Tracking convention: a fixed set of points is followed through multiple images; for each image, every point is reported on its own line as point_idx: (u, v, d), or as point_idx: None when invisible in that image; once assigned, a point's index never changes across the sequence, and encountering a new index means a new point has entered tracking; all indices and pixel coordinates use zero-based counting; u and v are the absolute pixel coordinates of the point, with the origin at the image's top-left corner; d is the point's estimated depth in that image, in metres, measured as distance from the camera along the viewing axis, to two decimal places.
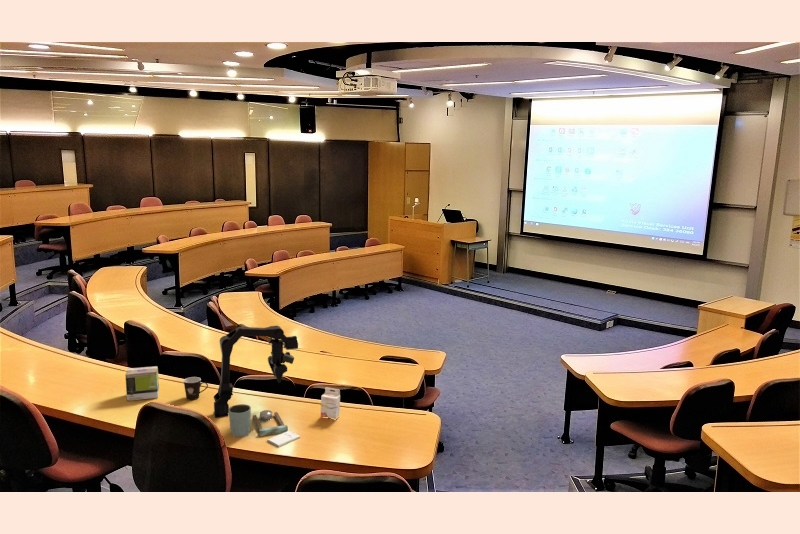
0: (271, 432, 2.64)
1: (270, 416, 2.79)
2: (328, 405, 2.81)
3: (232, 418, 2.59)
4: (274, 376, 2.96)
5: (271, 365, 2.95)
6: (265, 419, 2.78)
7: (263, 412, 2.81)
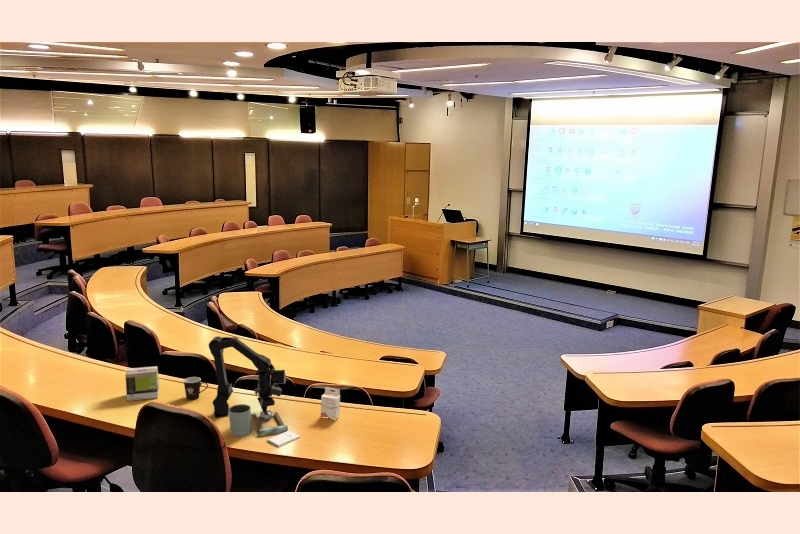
0: (271, 432, 2.64)
1: (270, 416, 2.79)
2: (328, 405, 2.81)
3: (232, 418, 2.59)
4: None
5: None
6: (265, 419, 2.78)
7: (263, 412, 2.80)
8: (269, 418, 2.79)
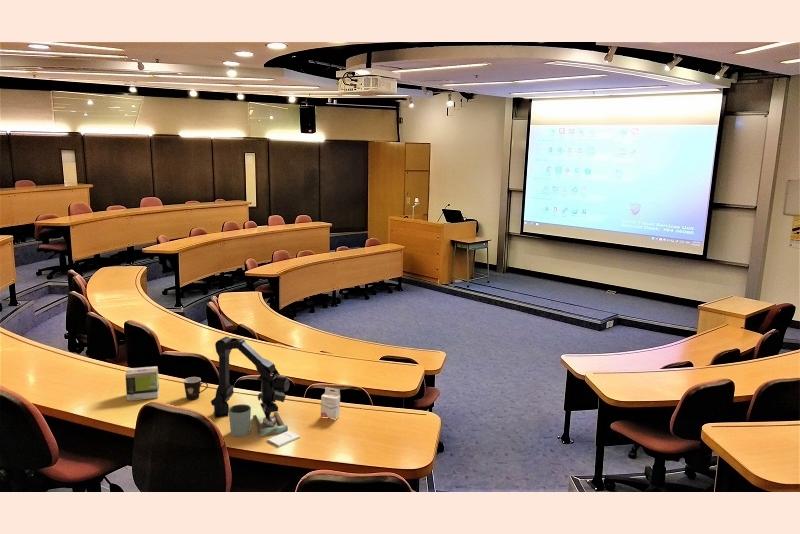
0: (271, 432, 2.64)
1: (274, 422, 2.72)
2: (328, 405, 2.81)
3: (232, 418, 2.59)
4: None
5: (263, 407, 2.76)
6: (268, 425, 2.71)
7: (266, 418, 2.74)
8: (272, 424, 2.72)
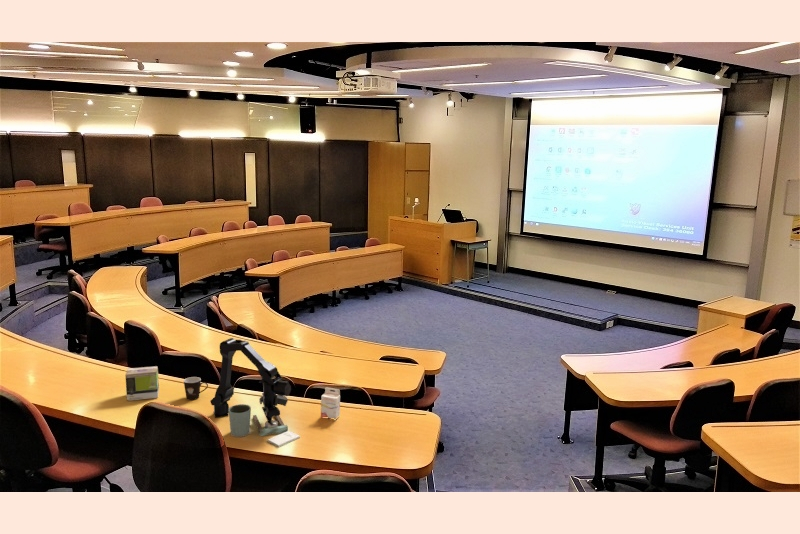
0: (271, 432, 2.64)
1: (276, 426, 2.68)
2: (328, 405, 2.81)
3: (232, 418, 2.59)
4: None
5: (265, 410, 2.72)
6: None
7: (268, 422, 2.70)
8: None
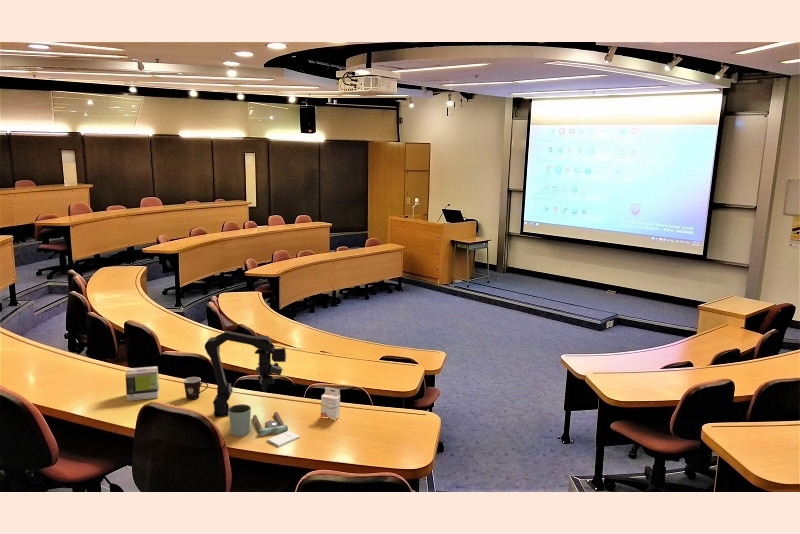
0: (271, 432, 2.64)
1: None
2: (328, 405, 2.81)
3: (232, 418, 2.59)
4: None
5: None
6: None
7: (268, 423, 2.70)
8: None
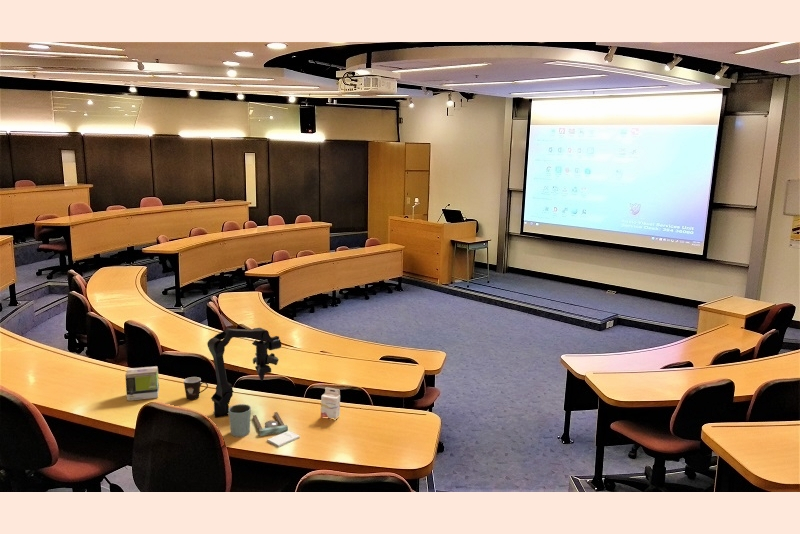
0: (271, 432, 2.64)
1: None
2: (328, 405, 2.81)
3: (232, 418, 2.59)
4: None
5: (257, 369, 2.96)
6: None
7: (268, 422, 2.70)
8: None
